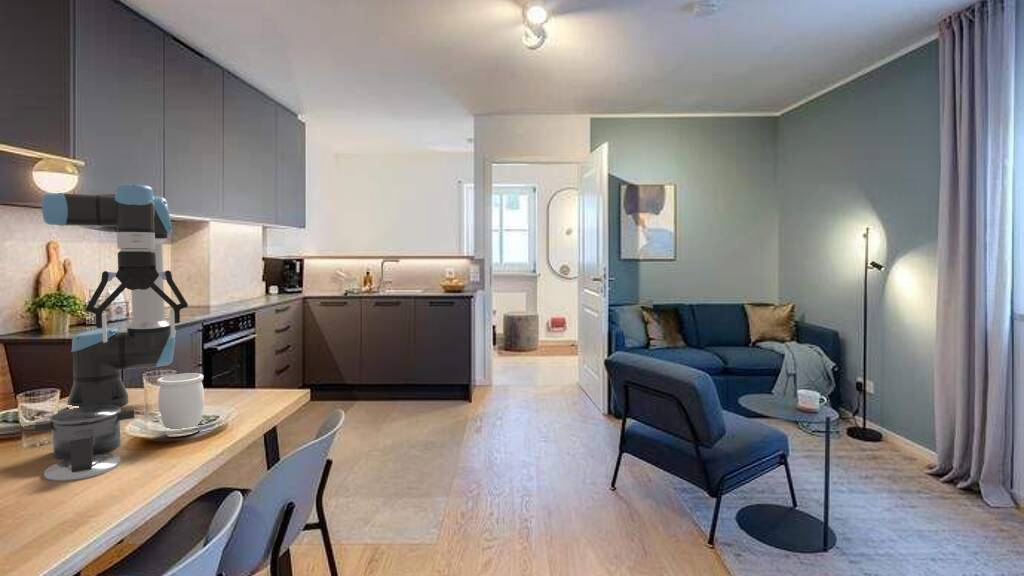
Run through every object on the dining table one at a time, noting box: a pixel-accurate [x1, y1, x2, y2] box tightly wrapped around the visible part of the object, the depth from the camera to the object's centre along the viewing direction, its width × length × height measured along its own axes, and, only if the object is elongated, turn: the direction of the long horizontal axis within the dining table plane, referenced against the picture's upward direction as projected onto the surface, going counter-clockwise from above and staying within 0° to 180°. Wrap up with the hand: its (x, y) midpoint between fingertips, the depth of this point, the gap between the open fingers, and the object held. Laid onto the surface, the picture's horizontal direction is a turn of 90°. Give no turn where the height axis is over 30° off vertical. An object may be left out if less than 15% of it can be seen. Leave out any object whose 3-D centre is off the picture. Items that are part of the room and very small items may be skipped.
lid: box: [43, 429, 121, 482], centre depth 124 cm, size 13×13×8 cm
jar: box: [157, 372, 205, 429], centre depth 148 cm, size 11×10×15 cm
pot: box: [34, 405, 135, 460], centre depth 136 cm, size 14×19×9 cm
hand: (140, 339), depth 135 cm, fingers open, 13 cm apart
